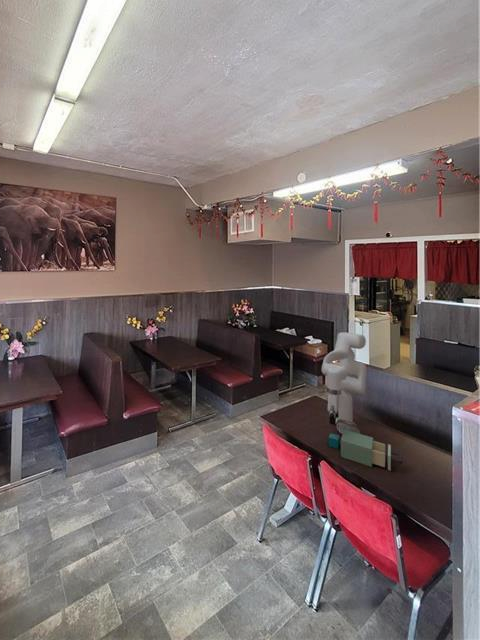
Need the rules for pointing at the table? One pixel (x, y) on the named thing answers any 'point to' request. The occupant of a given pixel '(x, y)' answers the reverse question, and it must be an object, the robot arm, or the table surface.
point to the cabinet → (357, 447)
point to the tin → (348, 427)
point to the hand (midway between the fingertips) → (334, 420)
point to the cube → (334, 441)
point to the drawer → (383, 455)
